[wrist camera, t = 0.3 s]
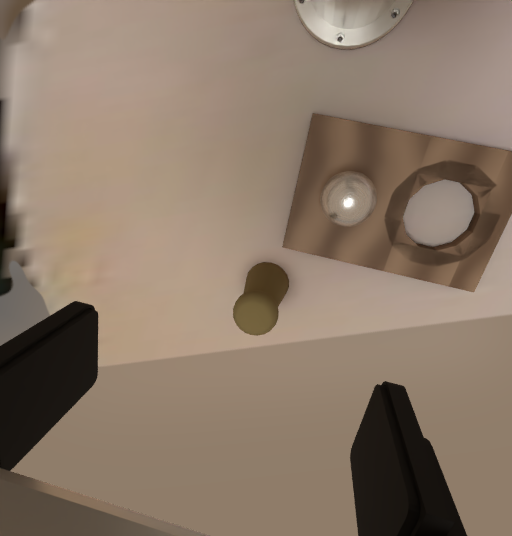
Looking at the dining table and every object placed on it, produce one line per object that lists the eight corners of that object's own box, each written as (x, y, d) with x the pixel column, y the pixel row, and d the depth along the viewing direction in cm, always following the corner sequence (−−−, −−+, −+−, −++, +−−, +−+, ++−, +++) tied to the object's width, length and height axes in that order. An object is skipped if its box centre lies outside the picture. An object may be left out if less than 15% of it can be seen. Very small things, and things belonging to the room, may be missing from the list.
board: (283, 244, 44) (282, 247, 43) (313, 114, 38) (312, 113, 37) (468, 287, 42) (473, 292, 40) (530, 156, 36) (538, 156, 35)
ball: (327, 164, 38) (329, 167, 33) (379, 175, 38) (389, 179, 32) (314, 214, 41) (314, 225, 35) (363, 225, 40) (370, 238, 34)
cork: (296, 275, 45) (290, 312, 35) (276, 309, 48) (264, 352, 37) (258, 254, 45) (240, 285, 35) (239, 289, 48) (217, 327, 37)
